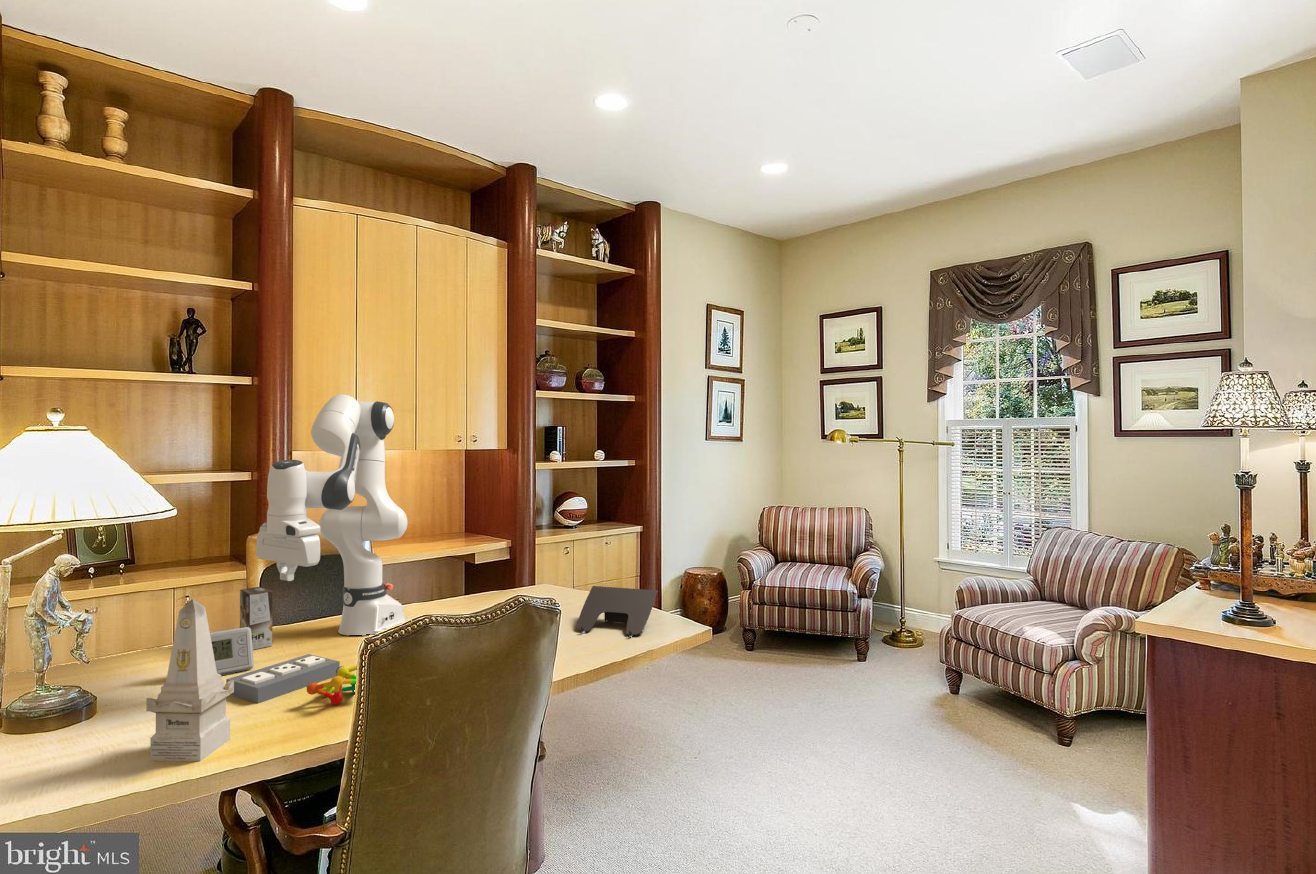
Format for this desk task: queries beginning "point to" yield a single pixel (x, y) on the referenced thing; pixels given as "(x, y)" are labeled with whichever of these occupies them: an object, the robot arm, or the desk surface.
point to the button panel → (283, 680)
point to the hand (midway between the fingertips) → (287, 580)
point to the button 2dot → (310, 661)
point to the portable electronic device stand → (617, 608)
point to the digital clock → (232, 650)
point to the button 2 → (284, 669)
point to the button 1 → (258, 677)
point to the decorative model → (335, 685)
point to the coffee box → (257, 615)
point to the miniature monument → (190, 695)
